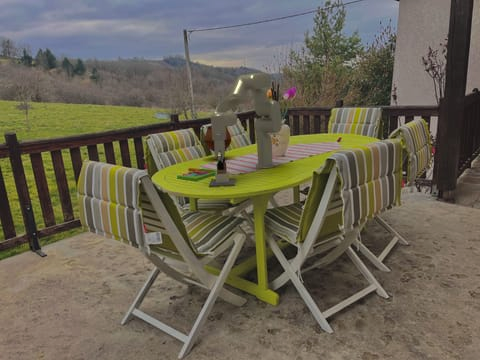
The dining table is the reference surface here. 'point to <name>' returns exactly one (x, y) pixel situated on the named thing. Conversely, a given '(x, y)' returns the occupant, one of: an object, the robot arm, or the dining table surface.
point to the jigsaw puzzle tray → (197, 174)
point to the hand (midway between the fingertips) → (221, 167)
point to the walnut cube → (222, 170)
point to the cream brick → (222, 177)
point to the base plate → (230, 183)
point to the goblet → (210, 141)
